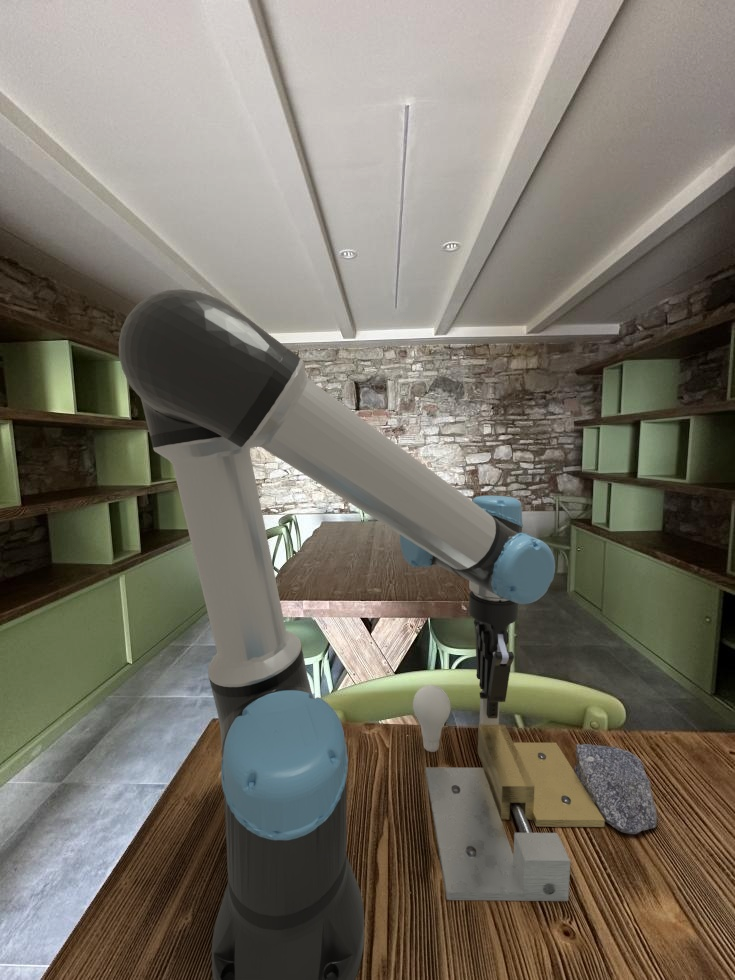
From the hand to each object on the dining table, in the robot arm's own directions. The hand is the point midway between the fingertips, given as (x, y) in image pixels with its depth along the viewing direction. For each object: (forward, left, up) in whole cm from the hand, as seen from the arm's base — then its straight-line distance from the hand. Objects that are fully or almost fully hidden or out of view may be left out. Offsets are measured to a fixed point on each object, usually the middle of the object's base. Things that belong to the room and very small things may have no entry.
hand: (488, 730), depth 67 cm
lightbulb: (-10, 0, -4) cm, 10 cm away
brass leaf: (+5, -7, -3) cm, 9 cm away
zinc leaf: (-4, -10, -3) cm, 12 cm away
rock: (+16, -9, -4) cm, 19 cm away
